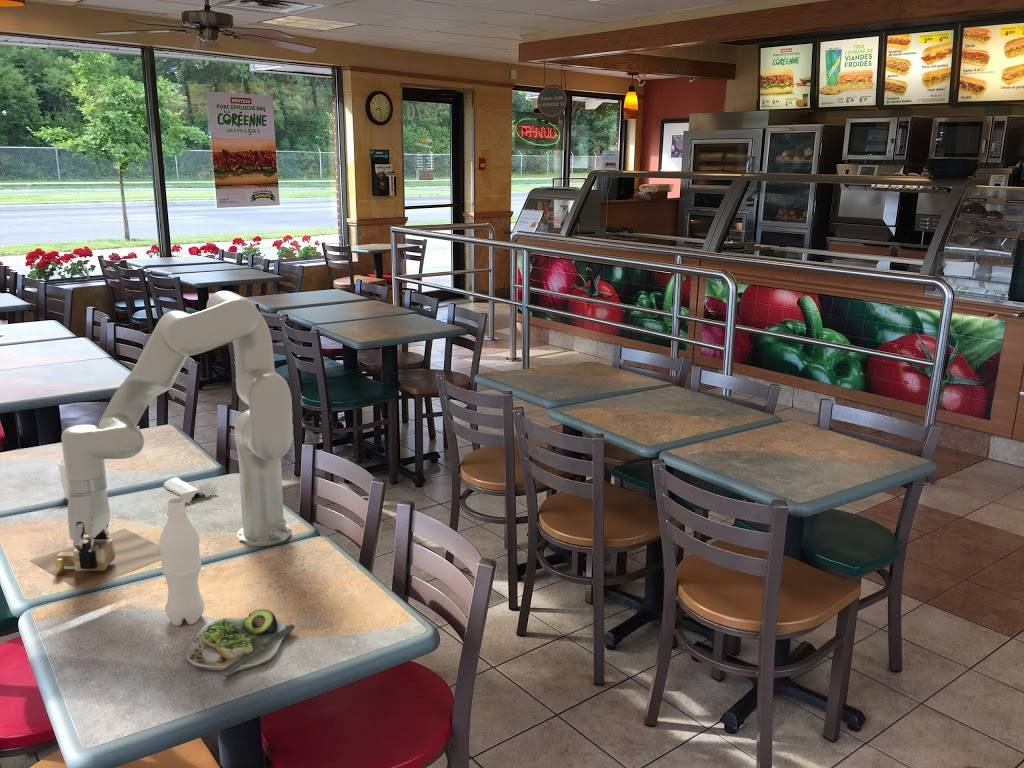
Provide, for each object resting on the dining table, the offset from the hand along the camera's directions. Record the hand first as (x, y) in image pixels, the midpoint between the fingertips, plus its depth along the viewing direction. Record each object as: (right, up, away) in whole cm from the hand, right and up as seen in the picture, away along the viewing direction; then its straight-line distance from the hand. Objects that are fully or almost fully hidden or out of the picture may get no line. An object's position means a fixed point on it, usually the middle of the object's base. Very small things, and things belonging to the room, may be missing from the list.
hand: (95, 560), depth 182 cm
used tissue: (+3, +8, +48) cm, 49 cm away
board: (-1, -2, +6) cm, 6 cm away
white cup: (-26, +8, +43) cm, 51 cm away
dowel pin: (-6, -3, -2) cm, 7 cm away
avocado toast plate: (+40, -11, -25) cm, 48 cm away
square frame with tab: (-2, -1, 0) cm, 3 cm away
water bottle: (+26, -8, -17) cm, 32 cm away
